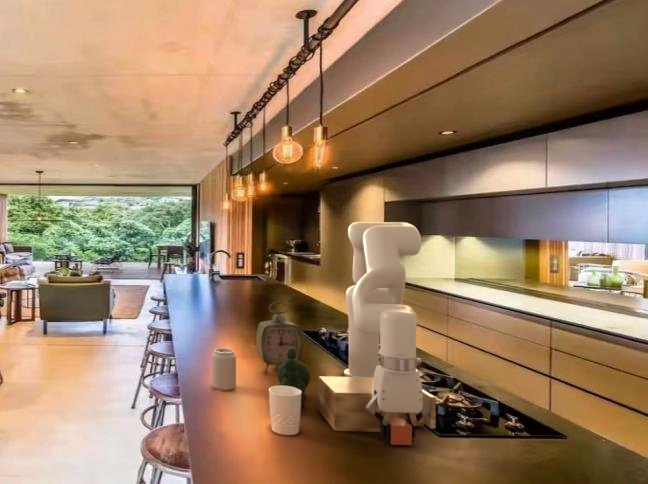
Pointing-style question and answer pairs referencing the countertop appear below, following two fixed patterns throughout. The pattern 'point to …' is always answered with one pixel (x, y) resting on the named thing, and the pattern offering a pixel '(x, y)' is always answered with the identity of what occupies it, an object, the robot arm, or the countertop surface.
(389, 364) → the robot arm
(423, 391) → the drawer
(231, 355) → the can
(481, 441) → the countertop surface
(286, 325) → the tabletop clock
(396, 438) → the block
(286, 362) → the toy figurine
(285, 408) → the white cup
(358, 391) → the cabinet
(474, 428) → the countertop surface
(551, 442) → the countertop surface
